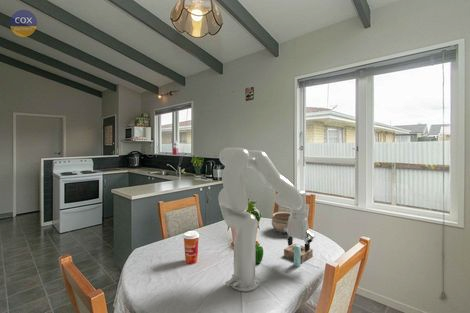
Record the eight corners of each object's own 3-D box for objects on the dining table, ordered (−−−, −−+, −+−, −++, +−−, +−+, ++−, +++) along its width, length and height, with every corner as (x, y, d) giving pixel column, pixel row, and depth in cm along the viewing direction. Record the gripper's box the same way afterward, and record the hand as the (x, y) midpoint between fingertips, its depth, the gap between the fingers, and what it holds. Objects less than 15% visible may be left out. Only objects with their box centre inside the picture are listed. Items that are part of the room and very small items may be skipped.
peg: (298, 267, 119) (298, 247, 119) (292, 265, 122) (292, 245, 121) (301, 265, 122) (301, 246, 121) (296, 263, 124) (296, 244, 124)
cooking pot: (263, 229, 175) (264, 212, 174) (284, 225, 183) (285, 209, 182) (285, 241, 152) (285, 222, 152) (308, 236, 161) (308, 218, 160)
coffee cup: (180, 263, 123) (180, 235, 122) (188, 256, 131) (188, 229, 130) (194, 266, 120) (194, 237, 120) (202, 259, 128) (202, 231, 127)
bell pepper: (243, 262, 125) (243, 243, 124) (253, 256, 131) (253, 238, 131) (257, 267, 119) (257, 247, 119) (266, 261, 126) (266, 242, 125)
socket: (301, 263, 124) (301, 255, 124) (283, 256, 132) (284, 249, 132) (312, 256, 131) (312, 249, 131) (295, 250, 139) (295, 243, 139)
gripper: (279, 213, 124) (280, 245, 125) (309, 220, 112) (310, 256, 113) (287, 210, 130) (288, 240, 131) (317, 216, 117) (318, 250, 118)
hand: (298, 247), depth 122 cm, fingers open, 9 cm apart
